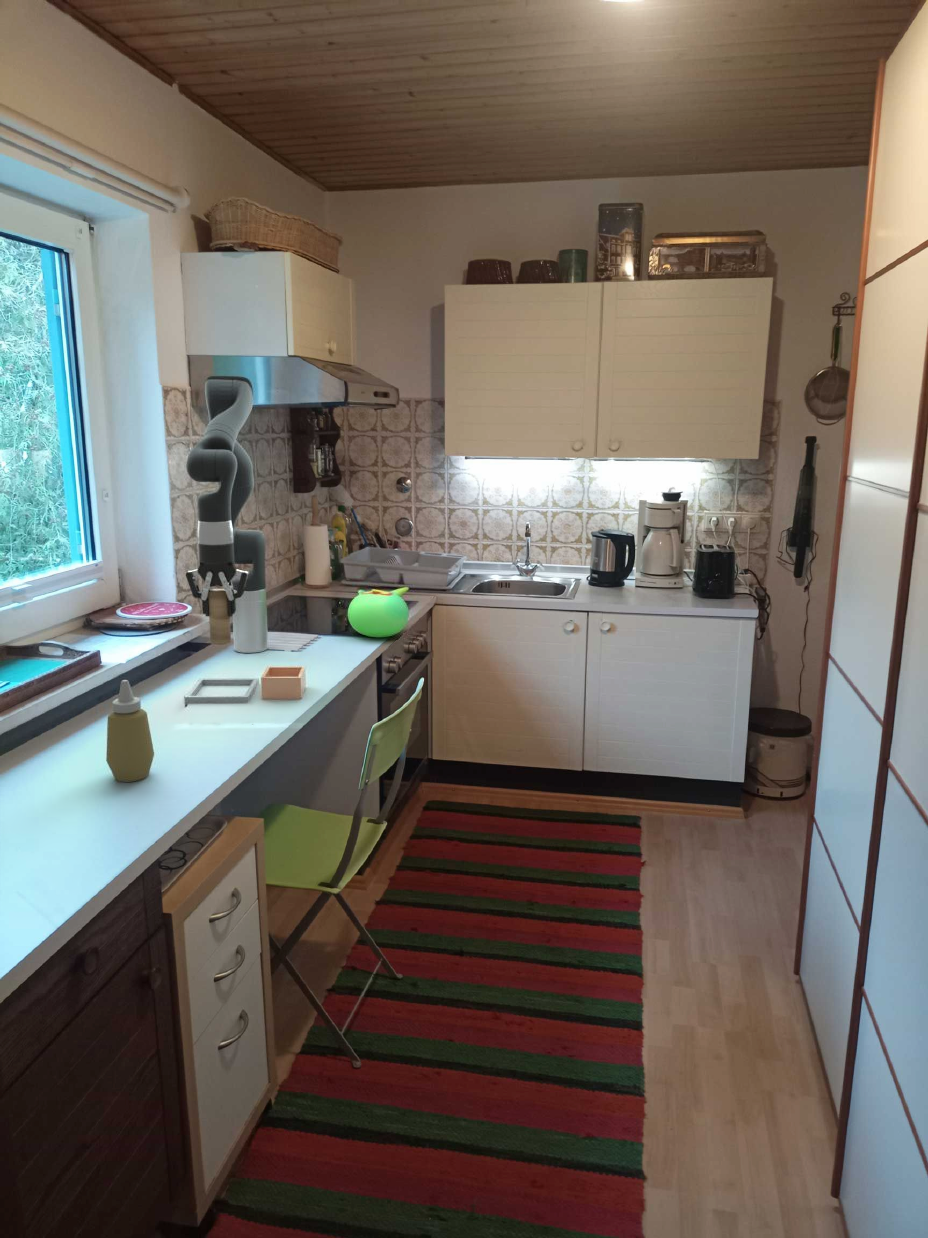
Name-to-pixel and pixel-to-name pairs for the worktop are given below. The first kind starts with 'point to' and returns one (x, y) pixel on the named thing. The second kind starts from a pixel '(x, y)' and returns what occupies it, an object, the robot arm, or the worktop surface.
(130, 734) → the squeeze bottle
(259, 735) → the worktop surface
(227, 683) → the slate tray
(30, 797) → the worktop surface
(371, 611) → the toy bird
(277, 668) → the terracotta box
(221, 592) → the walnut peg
